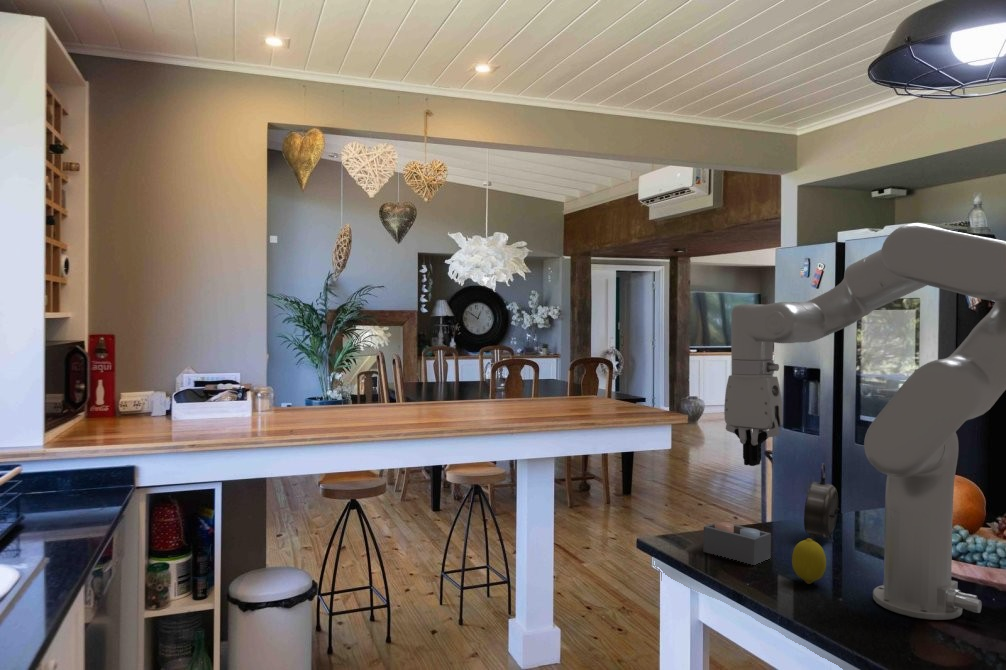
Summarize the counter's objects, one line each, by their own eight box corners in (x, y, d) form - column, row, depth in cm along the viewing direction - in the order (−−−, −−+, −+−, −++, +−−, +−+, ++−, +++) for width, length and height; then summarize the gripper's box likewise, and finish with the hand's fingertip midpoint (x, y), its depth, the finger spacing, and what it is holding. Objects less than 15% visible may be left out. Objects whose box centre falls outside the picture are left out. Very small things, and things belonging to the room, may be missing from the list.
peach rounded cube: (737, 544, 145) (737, 524, 145) (727, 548, 143) (727, 528, 143) (721, 540, 148) (721, 520, 148) (710, 544, 145) (711, 524, 145)
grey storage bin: (770, 559, 141) (771, 533, 141) (754, 566, 137) (754, 539, 137) (720, 545, 149) (720, 521, 149) (703, 551, 145) (703, 526, 145)
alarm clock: (814, 532, 159) (815, 457, 158) (841, 536, 156) (842, 460, 155) (801, 545, 150) (802, 466, 149) (830, 550, 147) (831, 469, 146)
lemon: (829, 590, 125) (829, 544, 125) (794, 588, 126) (795, 542, 126) (821, 579, 130) (822, 534, 130) (788, 577, 131) (789, 532, 131)
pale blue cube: (763, 551, 141) (763, 530, 141) (753, 555, 138) (753, 534, 138) (746, 547, 144) (746, 526, 143) (736, 550, 141) (736, 530, 141)
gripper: (799, 369, 137) (799, 467, 137) (728, 366, 148) (728, 457, 148) (778, 371, 132) (778, 473, 132) (706, 368, 143) (707, 461, 144)
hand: (752, 464), depth 140 cm, fingers closed
